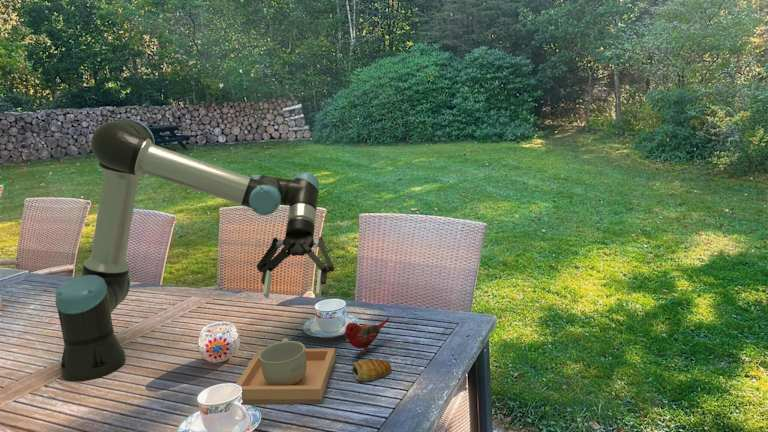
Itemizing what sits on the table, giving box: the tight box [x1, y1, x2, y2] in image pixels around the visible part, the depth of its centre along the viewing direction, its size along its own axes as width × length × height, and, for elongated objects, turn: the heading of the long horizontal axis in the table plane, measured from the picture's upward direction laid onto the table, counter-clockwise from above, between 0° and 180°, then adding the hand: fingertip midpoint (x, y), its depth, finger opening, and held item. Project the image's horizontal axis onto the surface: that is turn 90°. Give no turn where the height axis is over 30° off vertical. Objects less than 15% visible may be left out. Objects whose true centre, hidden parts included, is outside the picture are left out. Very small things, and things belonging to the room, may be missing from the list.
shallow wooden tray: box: [235, 347, 337, 404], centre depth 136 cm, size 20×20×4 cm
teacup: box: [259, 337, 307, 386], centre depth 135 cm, size 14×11×8 cm
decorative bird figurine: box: [343, 317, 390, 356], centre depth 150 cm, size 3×18×10 cm, turn 139°
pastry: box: [351, 358, 392, 383], centre depth 138 cm, size 9×7×4 cm
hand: (291, 295), depth 144 cm, fingers open, 13 cm apart
